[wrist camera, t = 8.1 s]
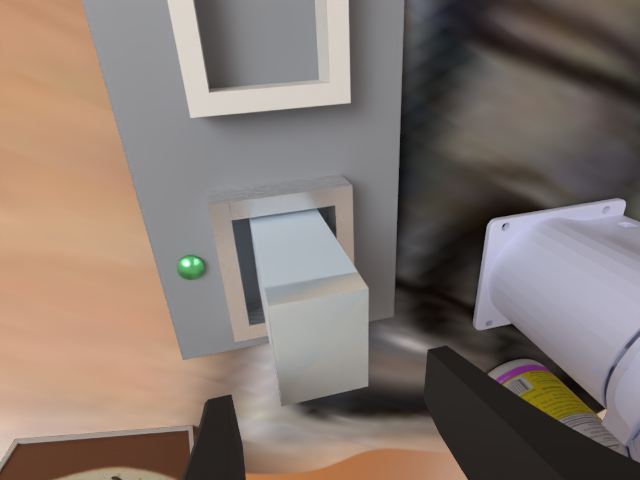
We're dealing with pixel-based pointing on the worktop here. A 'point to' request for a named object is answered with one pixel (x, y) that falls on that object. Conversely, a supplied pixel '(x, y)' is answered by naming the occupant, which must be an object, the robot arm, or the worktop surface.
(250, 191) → the port
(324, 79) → the frame
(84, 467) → the food container
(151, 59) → the panel
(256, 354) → the worktop surface
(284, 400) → the plug
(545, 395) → the supplement bottle
